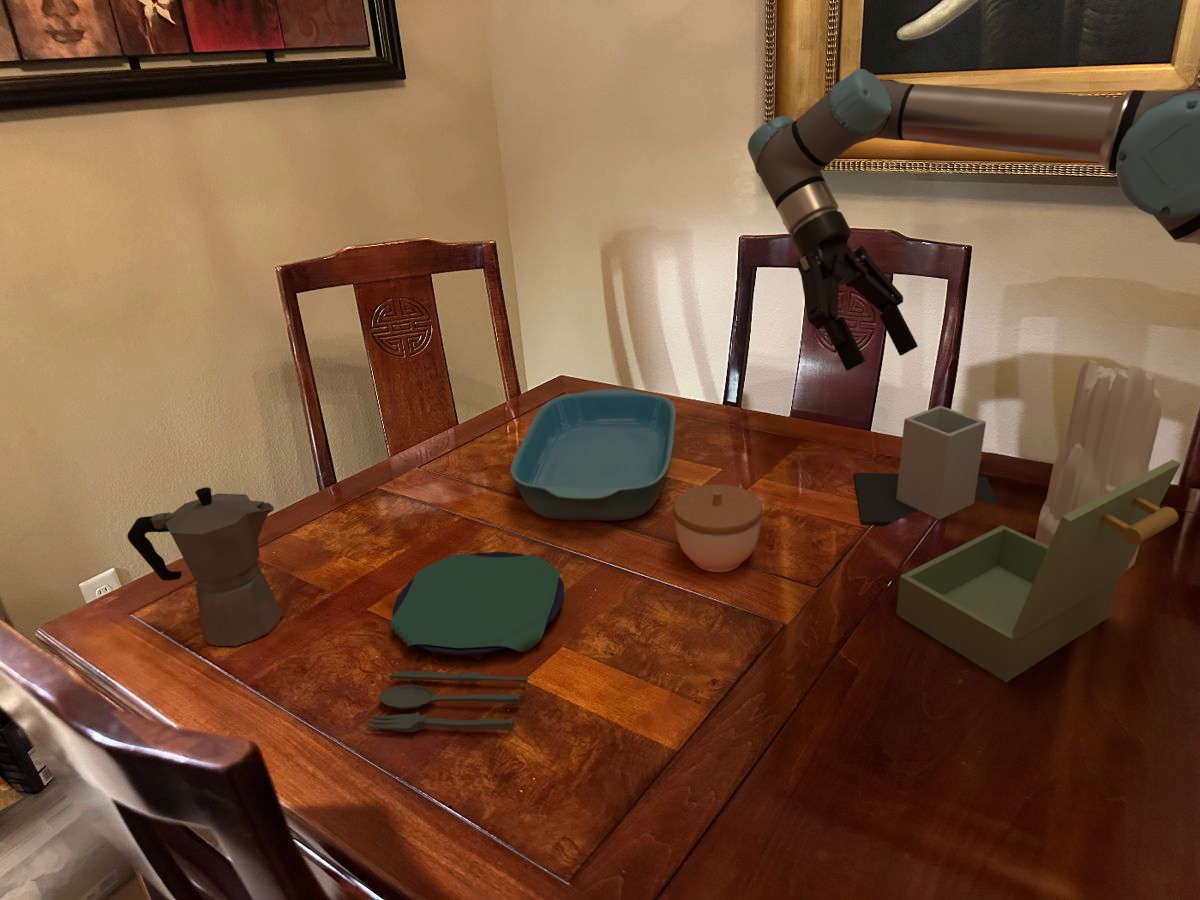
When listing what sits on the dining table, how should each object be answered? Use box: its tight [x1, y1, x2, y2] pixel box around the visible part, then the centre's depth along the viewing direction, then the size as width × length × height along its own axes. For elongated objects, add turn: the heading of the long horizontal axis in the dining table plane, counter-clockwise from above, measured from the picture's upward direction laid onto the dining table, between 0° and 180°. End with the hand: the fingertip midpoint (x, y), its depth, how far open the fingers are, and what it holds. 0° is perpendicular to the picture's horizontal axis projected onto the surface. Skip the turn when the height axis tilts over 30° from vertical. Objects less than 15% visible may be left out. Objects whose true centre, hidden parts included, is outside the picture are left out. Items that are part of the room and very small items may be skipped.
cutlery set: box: [365, 551, 565, 733], centre depth 93 cm, size 20×30×2 cm, turn 173°
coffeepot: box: [126, 486, 284, 647], centre depth 95 cm, size 15×9×18 cm, turn 102°
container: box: [896, 405, 987, 520], centre depth 111 cm, size 7×7×12 cm
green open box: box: [895, 524, 1119, 683], centre depth 90 cm, size 13×17×6 cm
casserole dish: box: [510, 387, 677, 522], centre depth 126 cm, size 37×22×7 cm, turn 172°
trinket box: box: [672, 484, 763, 573], centre depth 103 cm, size 11×11×9 cm
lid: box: [1011, 459, 1182, 639], centre depth 78 cm, size 14×17×4 cm
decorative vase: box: [1034, 359, 1162, 570], centre depth 96 cm, size 11×11×25 cm
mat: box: [853, 471, 1001, 527], centre depth 115 cm, size 18×14×1 cm
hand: (883, 358), depth 114 cm, fingers open, 13 cm apart
